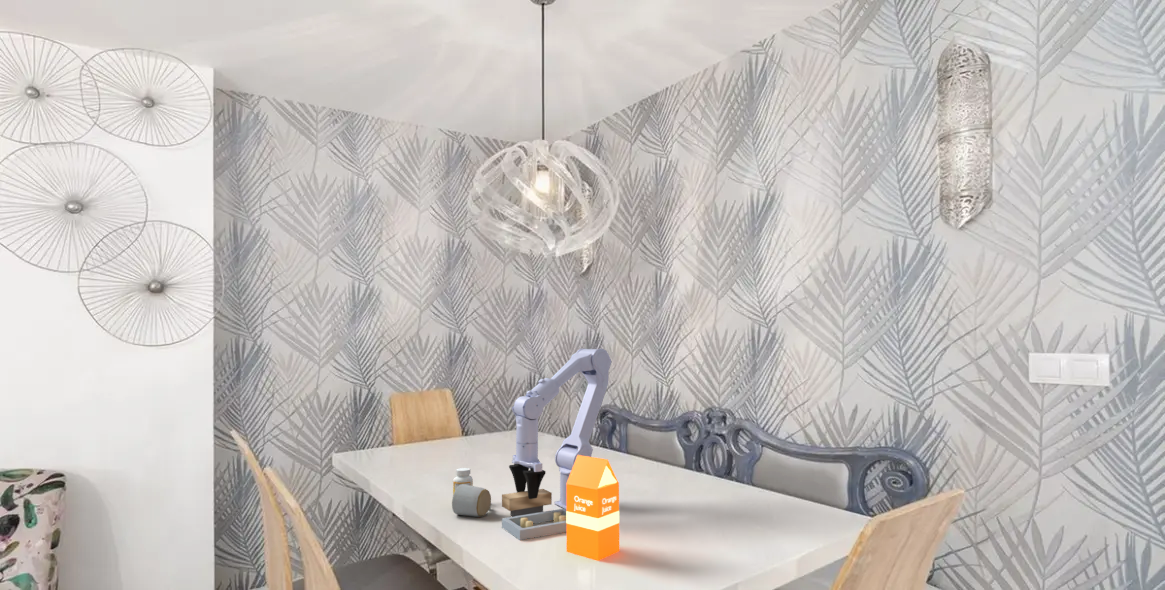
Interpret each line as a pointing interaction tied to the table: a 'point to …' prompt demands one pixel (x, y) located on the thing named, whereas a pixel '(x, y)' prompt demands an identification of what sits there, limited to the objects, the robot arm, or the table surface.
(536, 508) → the gray rectangular block
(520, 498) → the tan rectangular block
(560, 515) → the peg frame
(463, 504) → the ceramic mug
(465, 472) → the supplement bottle
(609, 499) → the orange juice
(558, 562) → the table surface
